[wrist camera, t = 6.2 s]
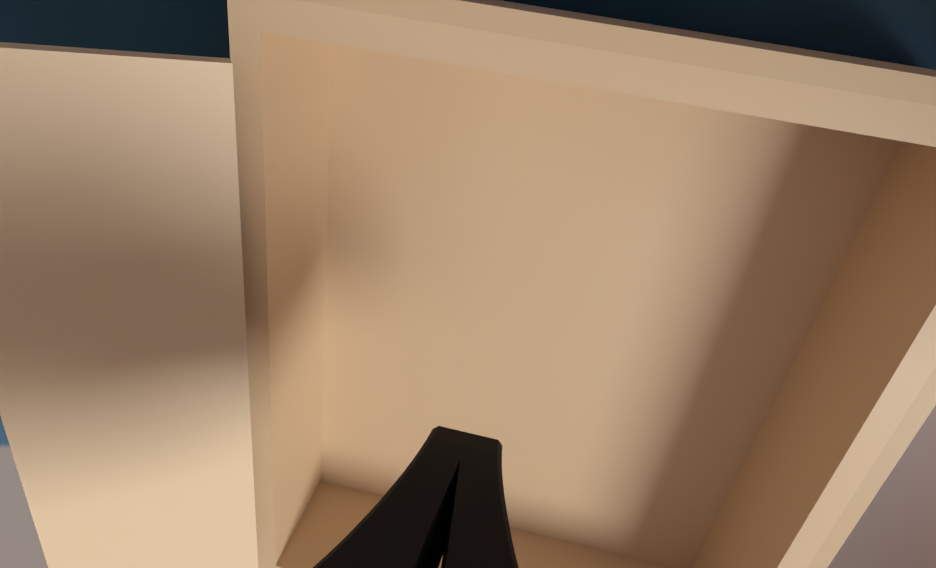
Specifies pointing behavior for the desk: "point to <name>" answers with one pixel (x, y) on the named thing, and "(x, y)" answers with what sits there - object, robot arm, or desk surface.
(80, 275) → the carton flap
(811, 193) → the carton
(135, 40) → the desk surface
